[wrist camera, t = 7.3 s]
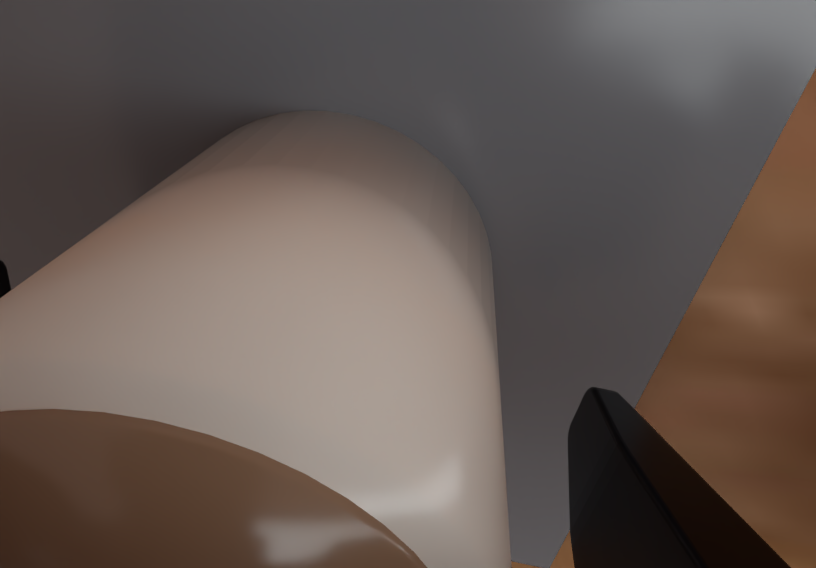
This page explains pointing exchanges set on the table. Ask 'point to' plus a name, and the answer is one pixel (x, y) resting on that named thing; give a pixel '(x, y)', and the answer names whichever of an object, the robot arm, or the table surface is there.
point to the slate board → (441, 154)
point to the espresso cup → (262, 368)
